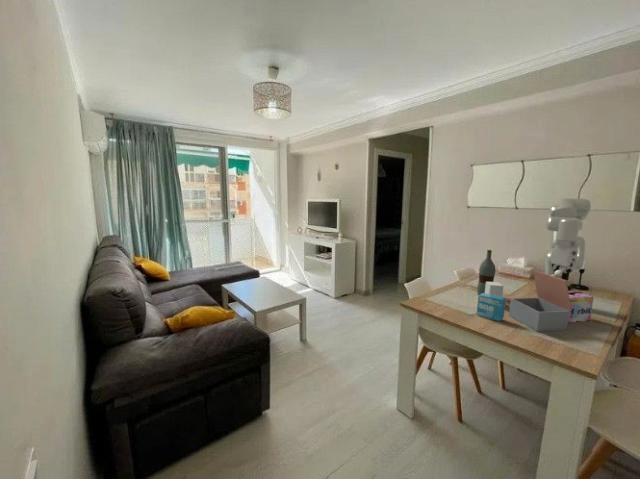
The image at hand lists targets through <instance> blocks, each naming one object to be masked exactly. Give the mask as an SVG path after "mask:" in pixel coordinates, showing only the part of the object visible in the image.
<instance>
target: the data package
mask: <svg viewBox="0 0 640 479" xmlns="http://www.w3.org/2000/svg"><path fill="white" fill-rule="evenodd" d="M476 305H477V306H476V315H477V316H479V317H480V318H481V317H482V318H485V319H490V320H492V321H496V322H501V321H502V320H503V319H504V317H505V308H506V299H505V298H504V297H503V296H502V297H498V296H494V295H489V294H485V293H482V294H481V295H478V297H477V304H476Z"/></svg>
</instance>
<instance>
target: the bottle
mask: <svg viewBox="0 0 640 479" xmlns="http://www.w3.org/2000/svg"><path fill="white" fill-rule="evenodd" d="M478 268H479V270H478V274H479V276H478V283H477V285H476V286H477V287H476V292H477V295H478V296H479V295H481V294H482V293H485V286H486V282H494V281H495V276H496V265H495V263H494V262H493V260H492V250H491V249H487V252H486V258H485V259H484V260H483V261H482V262H481V263H480V265H479V267H478Z"/></svg>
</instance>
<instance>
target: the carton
mask: <svg viewBox="0 0 640 479" xmlns="http://www.w3.org/2000/svg"><path fill="white" fill-rule="evenodd" d="M569 312H570V311H568V310H565V309H563V308H561V307H559V306H556V305H554V304H552V303H549V302H547V301H545V300H542V299H540V298H538V297H513V298H512V297H511V298H510V303H509V311H508V316H509V317H510V318H512V319H514V320H516V321H517V322H519V323H520V324H522V325H524V326H526V327H527V328H528V329H531V330H533V331H534V332H541V333H542V332H559V331H560V332H562V331H561V330H565V331H567V329H568V328H567V327H568V325H569V323H568V318H569Z"/></svg>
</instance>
